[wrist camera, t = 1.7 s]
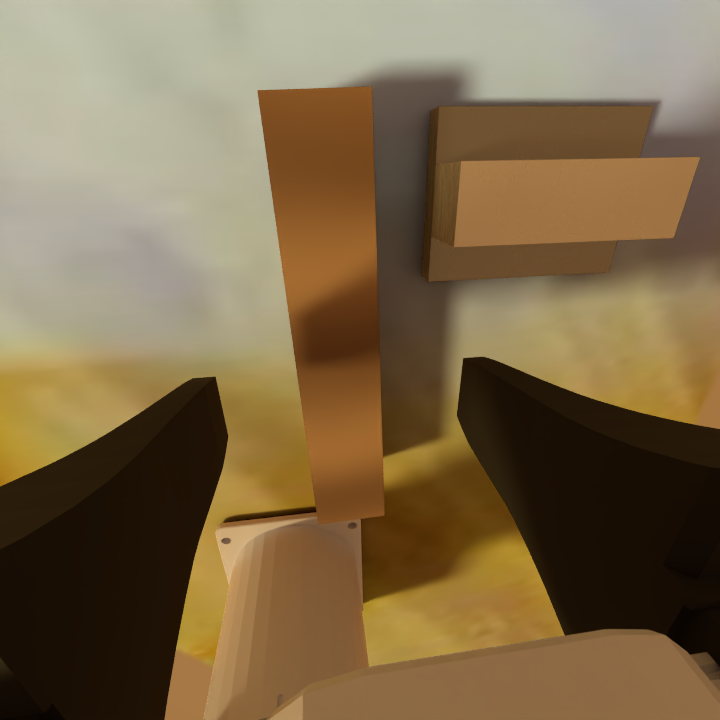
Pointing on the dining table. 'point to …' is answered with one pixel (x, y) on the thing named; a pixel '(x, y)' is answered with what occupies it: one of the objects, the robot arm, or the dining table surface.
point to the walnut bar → (331, 285)
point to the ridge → (543, 190)
